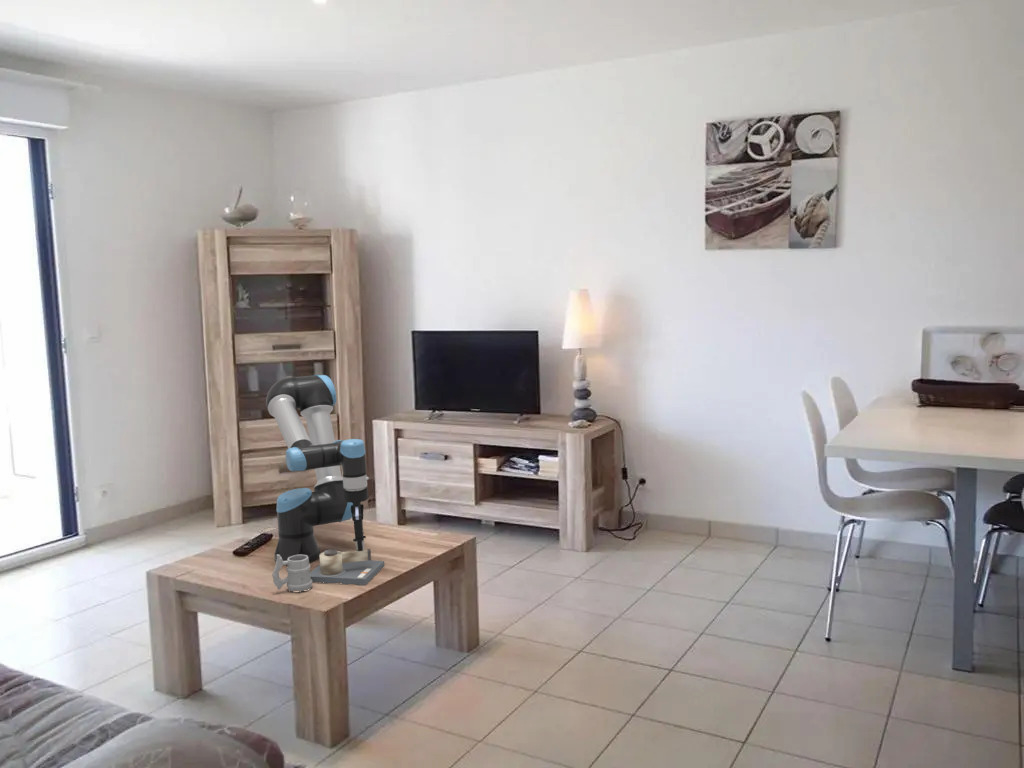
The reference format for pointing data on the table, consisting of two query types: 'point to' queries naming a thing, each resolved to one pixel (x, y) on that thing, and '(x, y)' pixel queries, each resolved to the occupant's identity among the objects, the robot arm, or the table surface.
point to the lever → (340, 560)
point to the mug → (293, 573)
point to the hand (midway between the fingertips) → (361, 559)
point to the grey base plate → (350, 573)
